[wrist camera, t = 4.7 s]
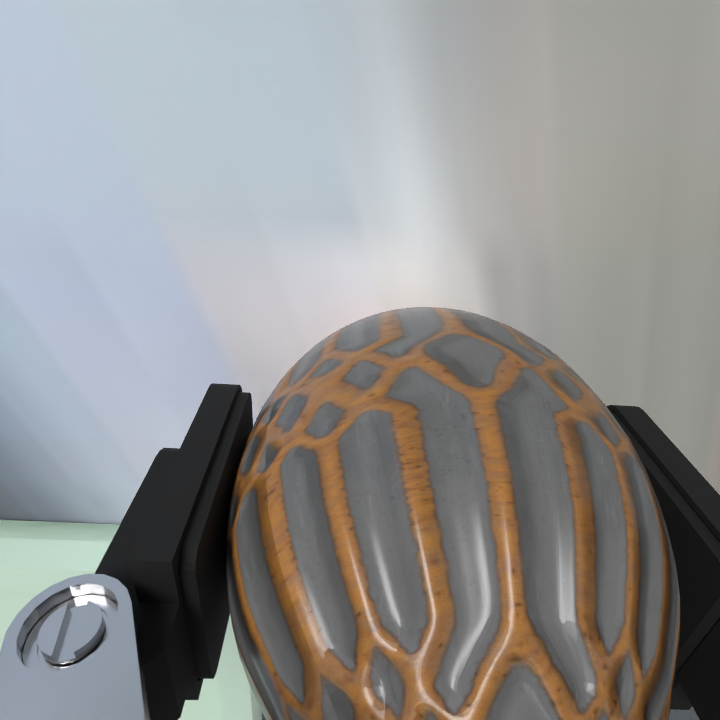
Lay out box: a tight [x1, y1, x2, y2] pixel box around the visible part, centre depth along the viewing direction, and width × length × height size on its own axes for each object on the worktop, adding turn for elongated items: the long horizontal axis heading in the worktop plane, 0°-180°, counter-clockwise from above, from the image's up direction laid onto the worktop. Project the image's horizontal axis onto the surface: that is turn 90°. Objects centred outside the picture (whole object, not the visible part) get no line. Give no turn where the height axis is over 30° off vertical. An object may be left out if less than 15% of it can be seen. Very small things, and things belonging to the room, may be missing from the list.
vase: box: [226, 307, 680, 720], centre depth 8 cm, size 7×7×9 cm
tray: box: [0, 520, 262, 720], centre depth 17 cm, size 16×16×2 cm
